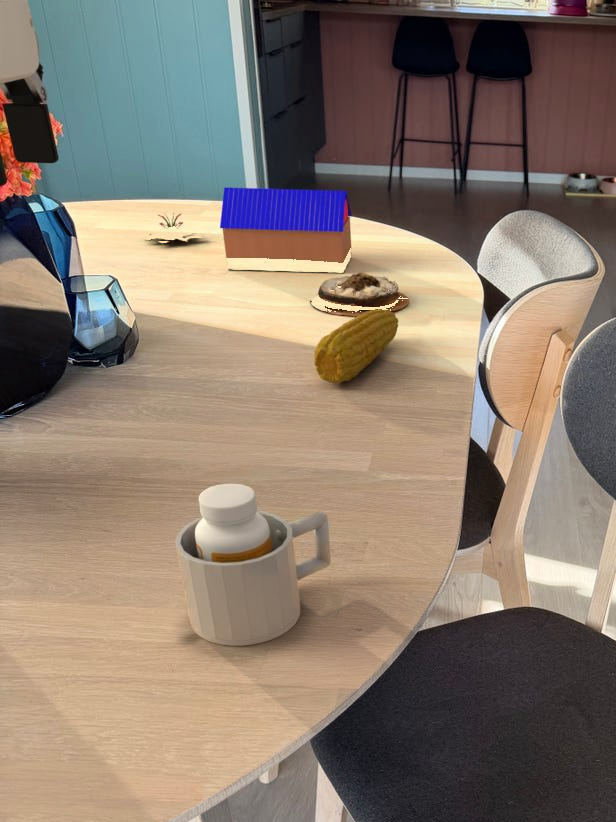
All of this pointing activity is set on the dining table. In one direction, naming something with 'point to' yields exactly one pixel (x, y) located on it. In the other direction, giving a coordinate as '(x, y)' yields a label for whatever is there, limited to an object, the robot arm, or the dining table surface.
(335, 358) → the food
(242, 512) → the supplement bottle
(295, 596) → the coffee mug
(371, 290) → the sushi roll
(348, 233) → the house
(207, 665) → the dining table surface
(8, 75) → the robot arm
